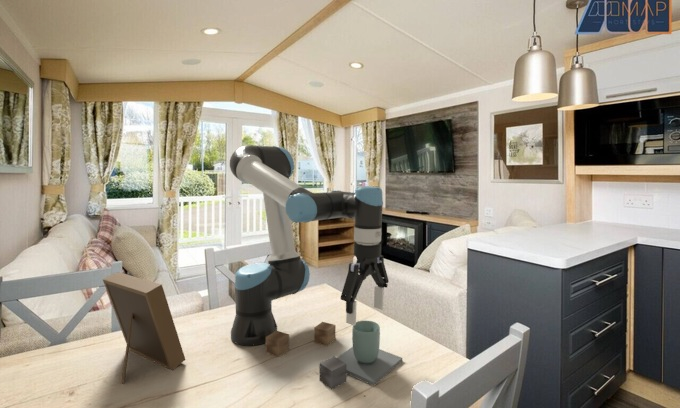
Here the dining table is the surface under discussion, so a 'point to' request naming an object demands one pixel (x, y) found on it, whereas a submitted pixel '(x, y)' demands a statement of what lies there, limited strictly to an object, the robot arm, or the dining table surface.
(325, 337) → the walnut block left
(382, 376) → the slate board
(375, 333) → the cup
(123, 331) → the photo frame
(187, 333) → the dining table surface
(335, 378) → the charcoal block front
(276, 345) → the walnut block near
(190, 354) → the dining table surface
